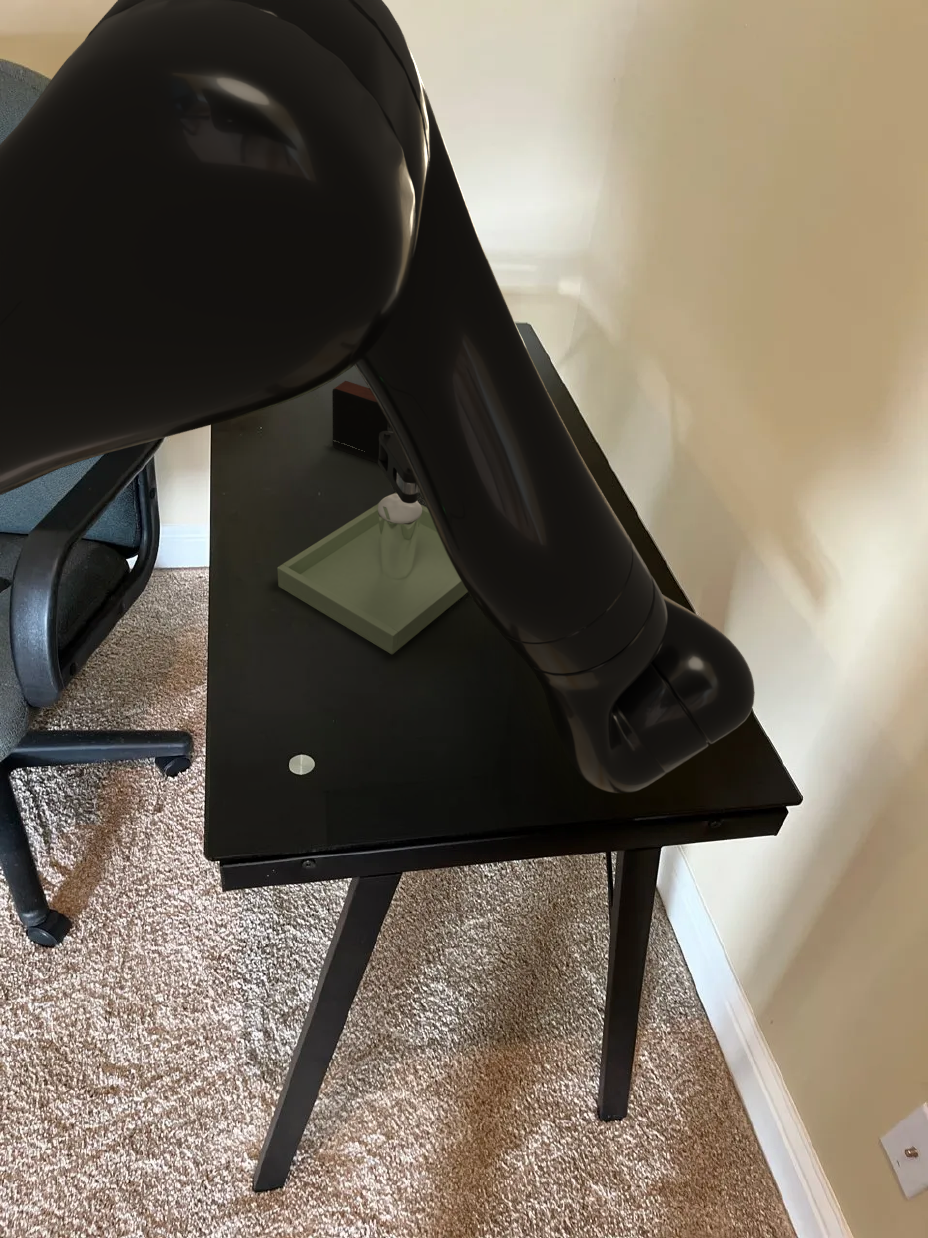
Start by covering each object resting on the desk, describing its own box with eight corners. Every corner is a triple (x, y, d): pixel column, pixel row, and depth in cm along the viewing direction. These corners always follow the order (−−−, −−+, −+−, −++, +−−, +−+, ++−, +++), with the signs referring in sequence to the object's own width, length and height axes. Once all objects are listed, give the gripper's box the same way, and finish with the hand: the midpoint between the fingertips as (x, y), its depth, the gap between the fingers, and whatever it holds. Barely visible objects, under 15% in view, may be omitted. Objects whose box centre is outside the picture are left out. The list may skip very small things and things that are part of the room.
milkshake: (363, 576, 89) (365, 499, 83) (390, 552, 93) (393, 476, 86) (399, 592, 88) (404, 515, 81) (424, 566, 92) (431, 490, 85)
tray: (392, 655, 82) (393, 636, 80) (278, 586, 88) (276, 567, 86) (501, 564, 94) (504, 546, 92) (395, 509, 100) (396, 491, 98)
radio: (454, 475, 107) (466, 366, 97) (444, 486, 105) (455, 376, 95) (332, 433, 112) (331, 325, 102) (319, 442, 110) (317, 333, 100)
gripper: (633, 466, 55) (535, 359, 66) (431, 490, 50) (361, 370, 61) (609, 555, 60) (521, 442, 71) (423, 584, 55) (360, 458, 66)
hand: (447, 409), depth 66 cm, fingers open, 8 cm apart
